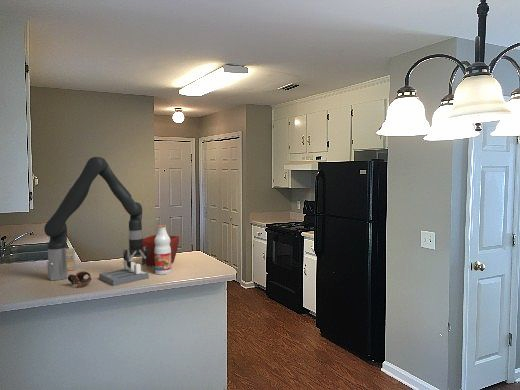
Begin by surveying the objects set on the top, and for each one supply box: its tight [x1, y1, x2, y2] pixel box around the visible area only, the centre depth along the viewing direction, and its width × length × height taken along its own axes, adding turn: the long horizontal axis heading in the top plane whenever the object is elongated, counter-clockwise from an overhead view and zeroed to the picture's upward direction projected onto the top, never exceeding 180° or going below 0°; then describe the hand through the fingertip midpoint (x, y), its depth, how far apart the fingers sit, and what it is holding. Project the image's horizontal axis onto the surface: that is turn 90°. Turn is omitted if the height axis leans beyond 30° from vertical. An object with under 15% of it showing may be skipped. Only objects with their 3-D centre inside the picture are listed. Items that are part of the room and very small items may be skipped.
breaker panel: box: [98, 268, 150, 287], centre depth 234 cm, size 20×19×3 cm
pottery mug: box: [67, 270, 93, 288], centre depth 222 cm, size 12×10×8 cm
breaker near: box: [134, 263, 142, 274], centre depth 232 cm, size 2×3×5 cm
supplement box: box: [66, 247, 76, 272], centre depth 255 cm, size 8×5×13 cm, turn 105°
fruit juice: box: [154, 224, 173, 276], centre depth 245 cm, size 9×9×28 cm
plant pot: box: [142, 234, 180, 268], centre depth 266 cm, size 19×19×17 cm
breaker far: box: [123, 259, 129, 270], centre depth 242 cm, size 2×3×5 cm
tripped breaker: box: [129, 261, 136, 272], centre depth 237 cm, size 2×3×5 cm
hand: (136, 266), depth 239 cm, fingers open, 8 cm apart
